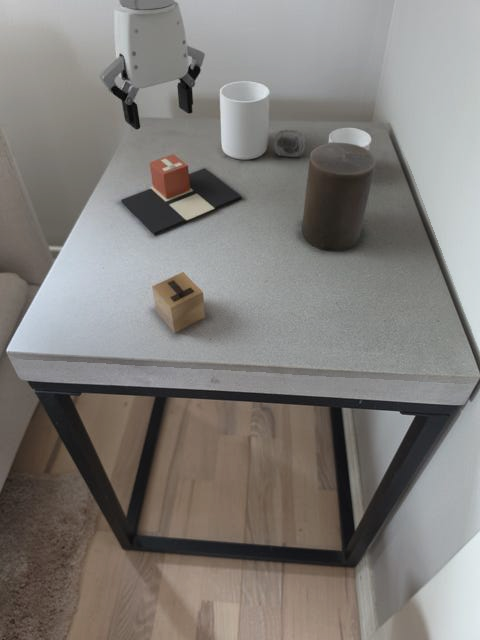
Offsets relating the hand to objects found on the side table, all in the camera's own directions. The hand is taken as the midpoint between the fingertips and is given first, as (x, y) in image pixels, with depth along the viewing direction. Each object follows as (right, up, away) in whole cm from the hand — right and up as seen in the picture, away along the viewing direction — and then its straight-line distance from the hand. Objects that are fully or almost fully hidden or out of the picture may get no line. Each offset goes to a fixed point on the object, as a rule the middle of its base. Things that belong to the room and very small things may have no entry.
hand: (160, 118), depth 79 cm
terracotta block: (0, -9, +10) cm, 13 cm away
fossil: (+23, +1, +20) cm, 30 cm away
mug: (+14, +3, +22) cm, 26 cm away
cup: (+33, -5, +15) cm, 37 cm away
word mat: (+2, -11, +9) cm, 14 cm away
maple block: (+5, -32, -10) cm, 34 cm away
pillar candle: (+28, -18, +2) cm, 34 cm away
